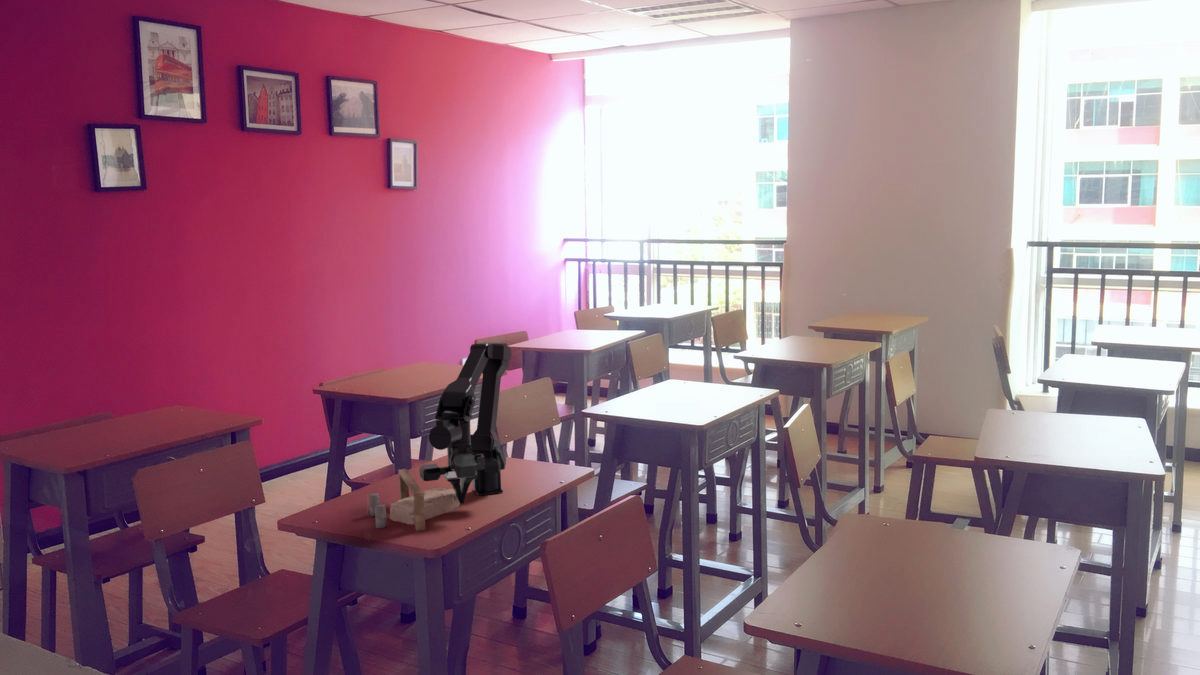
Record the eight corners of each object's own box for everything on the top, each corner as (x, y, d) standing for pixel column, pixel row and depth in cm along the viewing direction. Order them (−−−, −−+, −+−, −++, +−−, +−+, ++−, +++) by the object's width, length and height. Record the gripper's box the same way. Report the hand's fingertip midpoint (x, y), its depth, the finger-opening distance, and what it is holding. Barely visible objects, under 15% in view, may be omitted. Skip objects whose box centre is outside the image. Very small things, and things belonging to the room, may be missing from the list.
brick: (413, 527, 216) (412, 507, 216) (387, 521, 221) (387, 501, 221) (461, 508, 230) (461, 490, 230) (437, 503, 235) (436, 485, 234)
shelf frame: (408, 503, 234) (406, 468, 233) (425, 529, 213) (423, 492, 212) (366, 508, 230) (364, 473, 229) (379, 536, 209) (378, 497, 208)
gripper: (427, 451, 214) (430, 517, 216) (505, 443, 221) (507, 507, 223) (417, 442, 225) (420, 505, 226) (493, 434, 232) (495, 495, 233)
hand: (461, 503), depth 227 cm, fingers closed
